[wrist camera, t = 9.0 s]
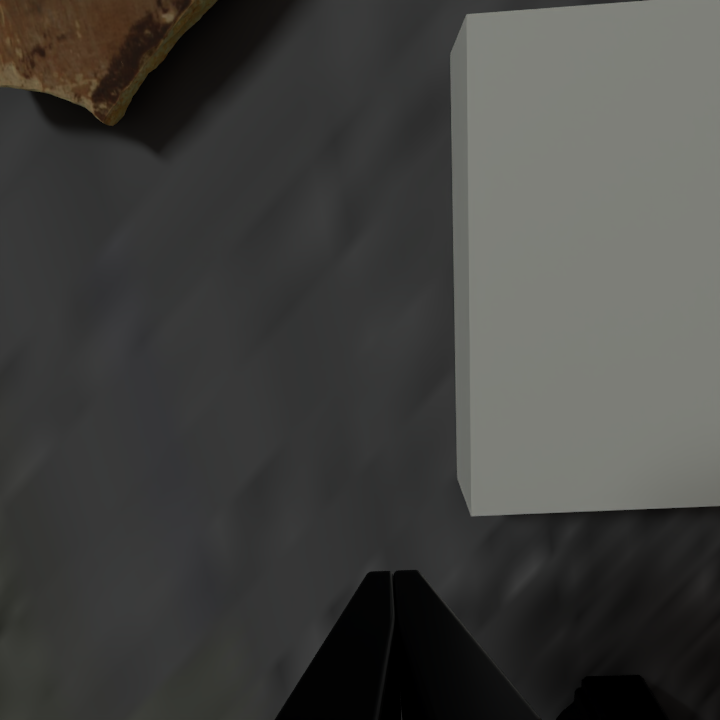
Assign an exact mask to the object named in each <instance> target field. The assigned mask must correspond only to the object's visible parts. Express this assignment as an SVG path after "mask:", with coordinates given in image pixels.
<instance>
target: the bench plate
mask: <svg viewBox="0 0 720 720" xmlns="http://www.w3.org/2000/svg"><path fill="white" fill-rule="evenodd" d="M450 72H451V133H452V194H453V255H454V317H455V378H456V439H457V479H458V482H459V484H460V487H461V490H462V493H463V495H464V498H465V501H466V503H467V506H468V509H469V511H470V514H471V516H488V515H512V514H537V513H561V512H585V511H610V510H634V509H658V508H683V507H707V506H720V0H649V1H636V2H622V3H609V4H596V5H583V6H570V7H557V8H544V9H531V10H518V11H505V12H491V13H478V14H466V17H465V19H464V22H463V24H462V27H461V29H460V31H459V34H458V36H457V39H456V41H455V44H454V46H453V49H452V51H451V53H450Z"/></svg>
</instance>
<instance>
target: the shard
mask: <svg viewBox="0 0 720 720" xmlns="http://www.w3.org/2000/svg"><path fill="white" fill-rule="evenodd" d="M217 1H218V0H0V87H11V88H18V89H24V90H28V91H37V92H43V93H48V94H52V95H54V96H56V97H59V98H62V99H65V100H68V101H71V102H72V103H74V104H77V105H80V106H82V107H85V108H86V109H88V110H89V111H90V112H92V113H93V115H94V116H95V117H96V118H97V119H99V120H100V121H101V122H102V123H104V124H106V125H109V126H113V125H114V124H117V123H118V121H119V120H120V119H121V118H122V117H123V116H124V115H125V112H126V110H127V107H128V105H129V104H130V102H131V100H132V97H133V96H134V94H135V93H136V92H137V90H138V89H139V87H140V85H141V84H142V83H143V81H144V80H145V78H146V77H147V75H148V73H150V72H151V71H152V70H154V69H155V68H157V66H158V65H159V64H160V63H161V62H162V61H163V60H164V59H165V58H166V56H167V54H168V53H169V51H170V50H171V49H172V48H173V46H174V45H175V44H176V42H177V41H178V40H179V38H180V37H181V36H182V35H183V34H184V33H185V32H186V31H187V30H188V29H190V28H191V27H192V26H193V25H194V24H195V23H196V22H198V21H199V20H200V19H201V17H202V16H203V15H204V14H205V13H206V12H207V11H208V10H209V9H210V8H211V7H212V6H213V5H214V4H215V3H216V2H217Z"/></svg>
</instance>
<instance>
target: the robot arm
mask: <svg viewBox="0 0 720 720" xmlns="http://www.w3.org/2000/svg"><path fill="white" fill-rule="evenodd" d="M400 696H401V700H400ZM401 712H402V720H542V719H541V718H540V717H539V716H538V714H537V713H536V712H535V711H534V710H533V708H532V707H531V706H530V705H529V704H528V702H527V701H526V700H525V699H524V697H523V696H522V695H521V694H520V693H519V691H518V690H517V689H516V688H515V687H514V685H513V684H512V683H511V682H510V681H509V679H508V678H507V677H506V676H505V674H504V673H503V672H502V671H501V670H500V668H499V667H498V666H497V665H496V664H495V662H494V661H493V660H492V659H491V658H490V656H489V655H488V654H487V653H486V651H485V650H484V649H483V648H482V647H481V645H480V644H479V643H478V642H477V641H476V639H475V638H474V637H473V636H472V635H471V633H470V632H469V631H468V630H467V628H466V627H465V626H464V625H463V624H462V622H461V621H460V620H459V619H458V618H457V616H456V615H455V614H454V613H453V612H452V610H451V609H450V608H449V607H448V606H447V604H446V603H445V602H444V601H443V599H442V598H441V597H440V596H439V595H438V593H437V592H436V591H435V590H434V589H433V587H432V586H431V585H430V584H429V583H428V581H427V580H426V579H425V578H424V576H423V575H422V574H421V573H420V572H419V571H418V570H400V571H396V572H395V573H394V578H393V573H392V572H390V571H373V572H369V573H367V575H366V576H365V578H364V579H363V581H362V583H361V584H360V586H359V587H358V589H357V591H356V592H355V594H354V595H353V597H352V598H351V600H350V602H349V603H348V605H347V606H346V608H345V609H344V611H343V613H342V614H341V616H340V617H339V619H338V621H337V622H336V624H335V625H334V627H333V628H332V630H331V632H330V633H329V635H328V636H327V638H326V639H325V641H324V643H323V644H322V646H321V647H320V649H319V651H318V652H317V654H316V655H315V657H314V658H313V660H312V662H311V663H310V665H309V666H308V668H307V669H306V671H305V673H304V674H303V676H302V677H301V679H300V681H299V682H298V684H297V685H296V687H295V688H294V690H293V692H292V693H291V695H290V696H289V698H288V699H287V701H286V703H285V704H284V706H283V707H282V709H281V711H280V712H279V714H278V715H277V717H276V718H275V720H401ZM556 720H669V719H668V717H667V715H666V714H665V712H664V711H663V709H662V707H661V706H660V704H659V703H658V701H657V700H656V698H655V696H654V695H653V693H652V692H651V690H650V688H649V687H648V685H647V684H646V682H645V680H644V679H643V678H642V677H641V676H640V675H622V676H588V677H585V678H584V679H583V680H582V687H581V688H578V689H576V691H575V695H574V702H573V703H572V704H571V705H570V706H568V707H567V708H566V709H565V710H563V712H562V713H561V714H560V715H559V716H558V717H557V719H556Z"/></svg>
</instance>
